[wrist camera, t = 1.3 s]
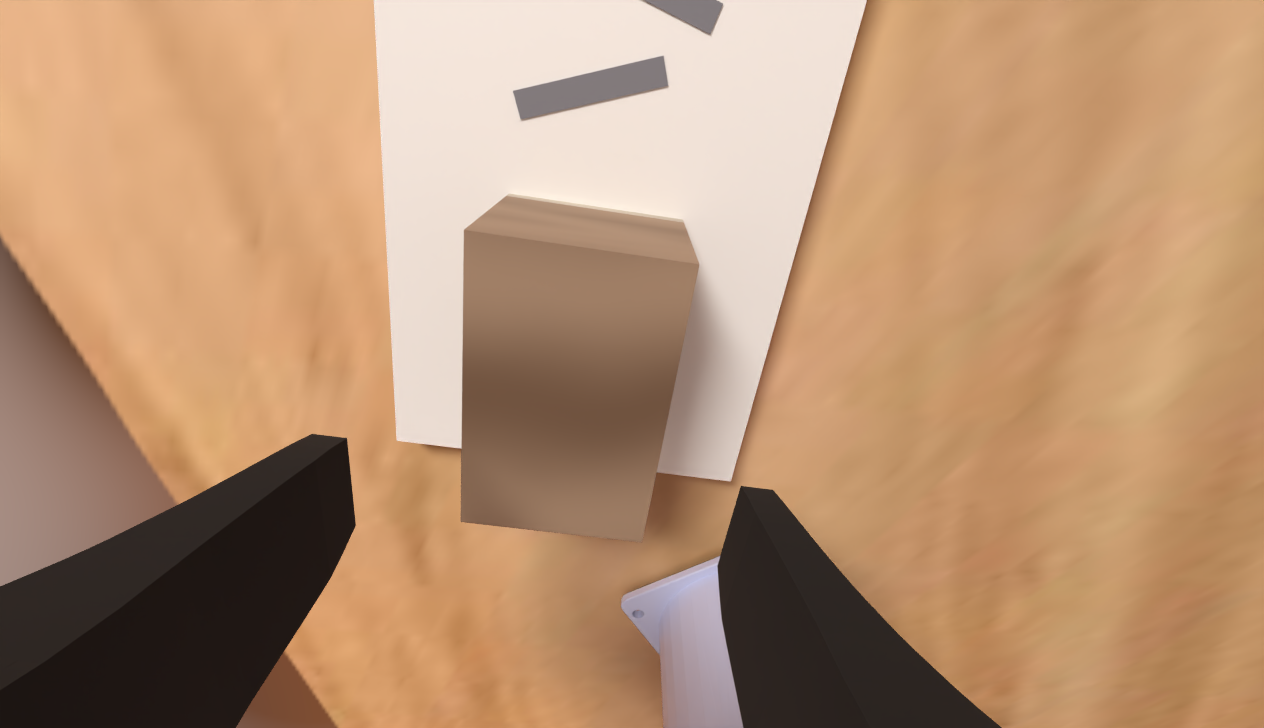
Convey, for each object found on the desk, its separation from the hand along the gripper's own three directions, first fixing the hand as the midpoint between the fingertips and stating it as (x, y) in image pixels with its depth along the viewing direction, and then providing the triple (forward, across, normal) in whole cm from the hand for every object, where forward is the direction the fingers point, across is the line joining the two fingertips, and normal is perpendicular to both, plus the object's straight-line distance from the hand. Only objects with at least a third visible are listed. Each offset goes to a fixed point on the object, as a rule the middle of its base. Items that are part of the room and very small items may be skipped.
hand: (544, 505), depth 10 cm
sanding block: (+8, 0, 0) cm, 8 cm away
